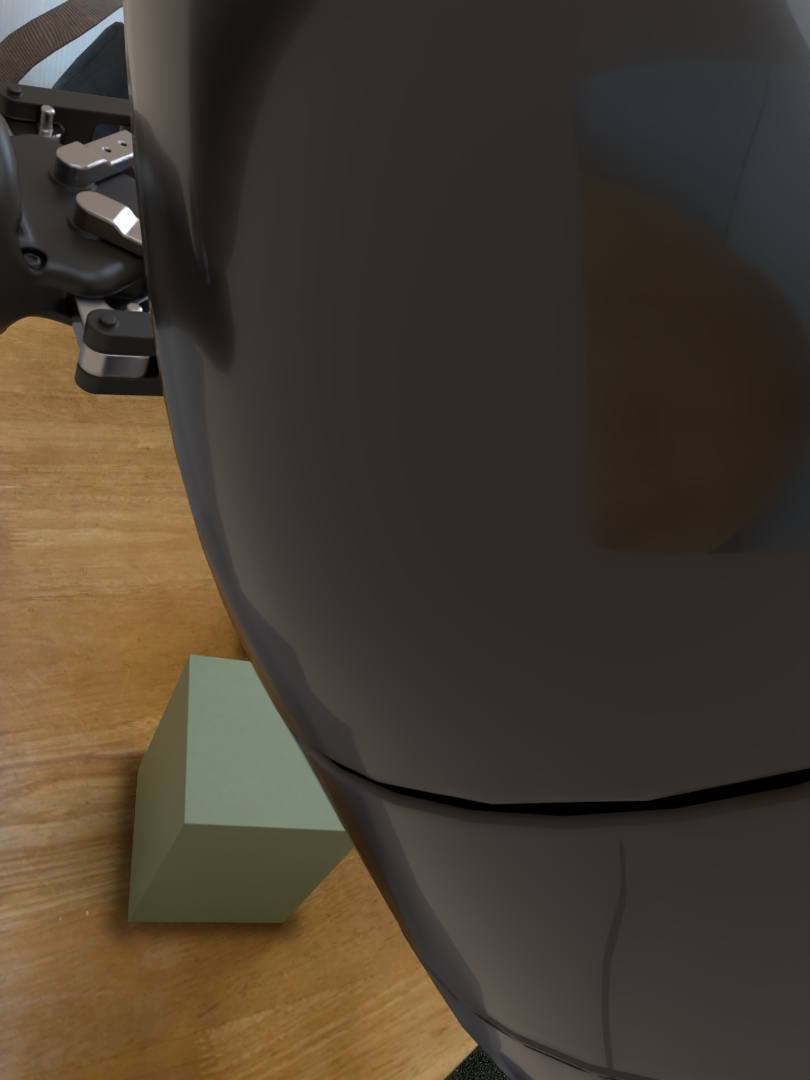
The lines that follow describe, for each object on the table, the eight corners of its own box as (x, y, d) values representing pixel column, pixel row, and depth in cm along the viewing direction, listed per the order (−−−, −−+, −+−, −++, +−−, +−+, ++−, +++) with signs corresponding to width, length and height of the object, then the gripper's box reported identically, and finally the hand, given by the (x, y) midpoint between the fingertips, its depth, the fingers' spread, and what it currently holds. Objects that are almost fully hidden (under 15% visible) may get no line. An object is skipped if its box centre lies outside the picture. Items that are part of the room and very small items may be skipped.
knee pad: (341, 196, 81) (136, 14, 82) (296, 101, 62) (27, -138, 62) (210, 350, 83) (11, 170, 84) (127, 305, 63) (-134, 71, 64)
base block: (284, 923, 47) (369, 832, 39) (127, 922, 44) (183, 823, 36) (279, 780, 52) (353, 673, 44) (137, 770, 49) (189, 653, 41)
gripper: (-135, 254, 21) (419, 289, 31) (-206, -40, 28) (269, 62, 37) (-133, 468, 26) (341, 443, 36) (-193, 177, 33) (221, 219, 42)
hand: (304, 249), depth 36 cm, fingers open, 8 cm apart
